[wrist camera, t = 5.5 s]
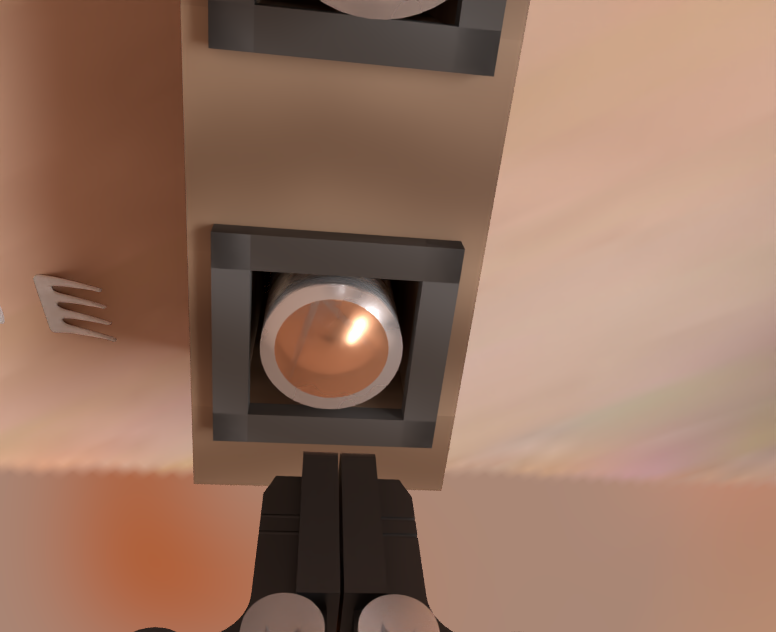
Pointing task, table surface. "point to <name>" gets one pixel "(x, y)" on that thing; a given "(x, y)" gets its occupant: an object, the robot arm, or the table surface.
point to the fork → (57, 313)
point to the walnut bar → (338, 212)
